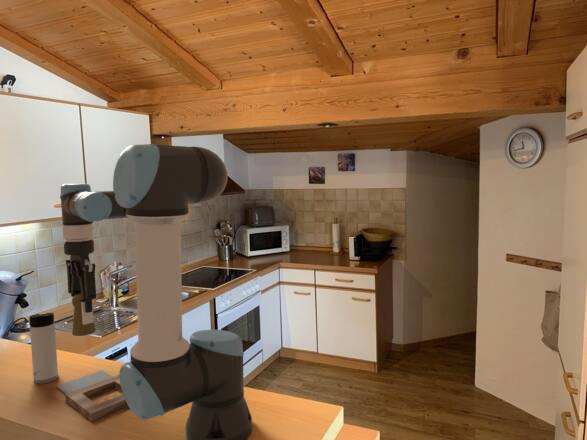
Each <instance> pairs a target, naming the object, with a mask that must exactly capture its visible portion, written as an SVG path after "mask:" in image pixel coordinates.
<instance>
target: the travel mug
mask: <svg viewBox="0 0 587 440" xmlns="http://www.w3.org/2000/svg"><path fill="white" fill-rule="evenodd" d="M28 319H29V334H30V335H29V336H30V348H31V360H32V361H31V362H32V376H33V377H32V378H33V382H34V383H35V384H38V385H43V384H49V383H51V382H53V381H55V380H56V379H58V377H59V372H58V371H59V369H58V356H57V355H58V354H57V353H58V352H57V341H56V337H57V336H56V326H55V313H54V312H46V313H41V314H40V313H38V314H37V313H36V314H32V315H29V318H28Z"/></svg>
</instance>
